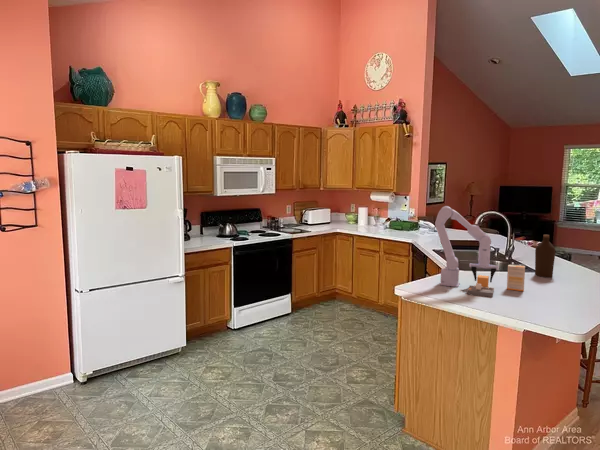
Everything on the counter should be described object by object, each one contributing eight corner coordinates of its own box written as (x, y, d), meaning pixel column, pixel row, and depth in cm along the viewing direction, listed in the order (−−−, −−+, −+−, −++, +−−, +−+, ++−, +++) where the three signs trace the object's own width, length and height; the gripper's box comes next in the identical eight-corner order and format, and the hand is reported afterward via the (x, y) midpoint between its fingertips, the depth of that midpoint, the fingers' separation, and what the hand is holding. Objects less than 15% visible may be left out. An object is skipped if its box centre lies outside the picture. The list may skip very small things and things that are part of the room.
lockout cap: (476, 287, 236) (477, 277, 235) (477, 285, 240) (478, 275, 240) (487, 289, 233) (488, 278, 232) (488, 286, 238) (488, 276, 237)
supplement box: (524, 289, 232) (525, 265, 231) (523, 291, 228) (525, 267, 226) (507, 287, 236) (508, 264, 235) (506, 289, 232) (507, 265, 231)
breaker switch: (475, 289, 224) (476, 284, 224) (476, 288, 226) (476, 283, 226) (480, 289, 223) (481, 284, 223) (481, 288, 225) (481, 283, 225)
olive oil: (549, 278, 256) (552, 236, 253) (530, 275, 264) (533, 234, 261) (556, 275, 263) (559, 235, 260) (538, 272, 271) (540, 233, 268)
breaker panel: (467, 294, 224) (467, 289, 223) (469, 289, 233) (469, 284, 233) (492, 297, 218) (492, 292, 218) (493, 291, 228) (494, 286, 228)
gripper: (469, 257, 234) (468, 281, 236) (498, 259, 228) (497, 284, 229) (470, 254, 241) (469, 278, 242) (499, 256, 234) (497, 281, 236)
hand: (483, 281), depth 236 cm, fingers open, 7 cm apart
